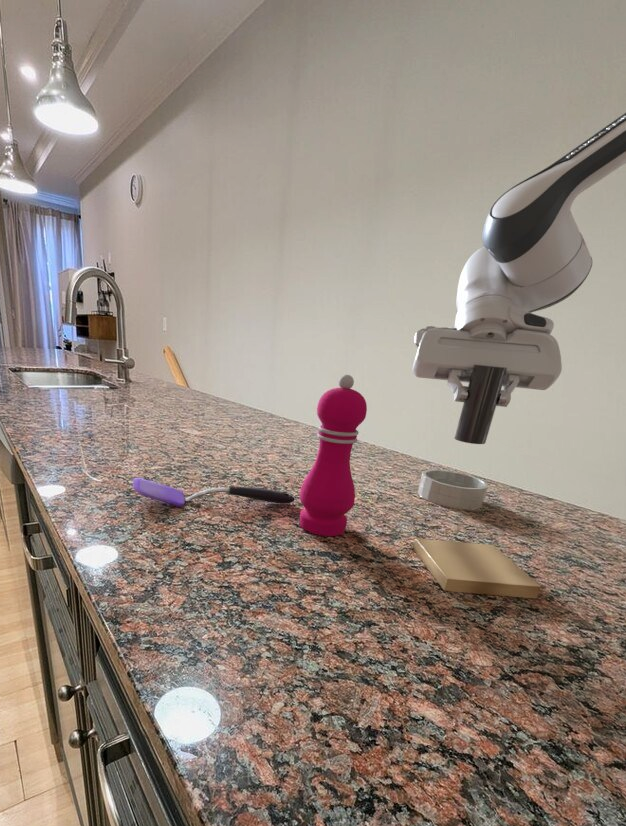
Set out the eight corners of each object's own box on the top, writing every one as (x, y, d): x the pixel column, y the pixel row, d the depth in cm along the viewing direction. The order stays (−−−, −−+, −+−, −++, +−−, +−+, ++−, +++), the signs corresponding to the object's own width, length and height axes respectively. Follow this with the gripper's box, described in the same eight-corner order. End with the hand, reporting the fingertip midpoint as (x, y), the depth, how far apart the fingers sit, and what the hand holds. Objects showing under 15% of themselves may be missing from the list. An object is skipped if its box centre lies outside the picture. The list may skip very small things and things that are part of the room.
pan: (464, 493, 81) (470, 472, 79) (492, 515, 71) (500, 491, 70) (408, 488, 81) (413, 467, 79) (429, 509, 71) (435, 485, 70)
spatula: (288, 496, 71) (290, 481, 70) (299, 512, 65) (301, 496, 64) (134, 491, 67) (134, 475, 66) (130, 508, 61) (130, 491, 60)
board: (490, 555, 57) (494, 544, 56) (536, 599, 48) (541, 586, 47) (412, 548, 57) (415, 538, 56) (444, 590, 48) (447, 578, 47)
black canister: (477, 438, 71) (497, 366, 66) (490, 445, 66) (513, 368, 62) (449, 436, 70) (468, 363, 66) (461, 442, 66) (482, 365, 62)
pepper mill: (310, 512, 65) (332, 370, 58) (356, 527, 62) (387, 377, 54) (285, 526, 60) (306, 371, 52) (334, 543, 56) (365, 379, 49)
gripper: (421, 310, 70) (413, 379, 65) (565, 321, 66) (569, 395, 61) (411, 340, 76) (404, 406, 71) (544, 352, 72) (546, 423, 66)
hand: (481, 401), depth 66 cm, fingers closed on black canister, 4 cm apart
